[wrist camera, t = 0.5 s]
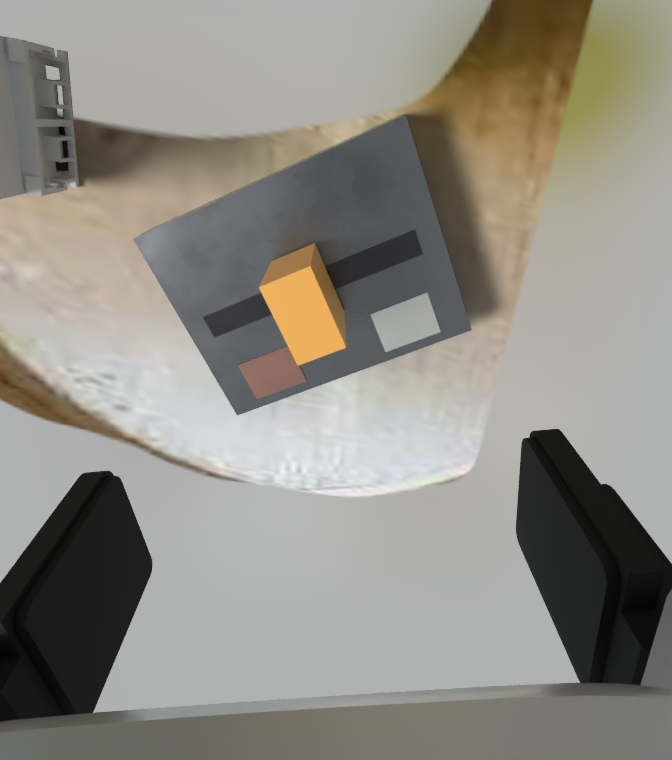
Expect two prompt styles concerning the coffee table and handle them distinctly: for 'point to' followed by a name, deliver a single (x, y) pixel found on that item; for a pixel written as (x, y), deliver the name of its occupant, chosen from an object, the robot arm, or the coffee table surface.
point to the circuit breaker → (34, 121)
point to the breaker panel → (338, 252)
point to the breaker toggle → (305, 304)
